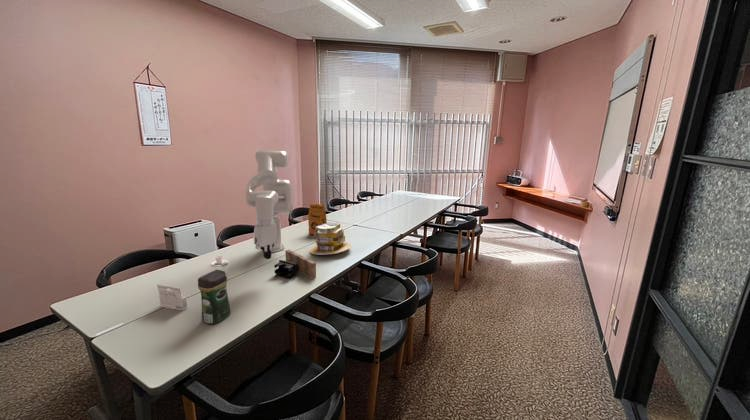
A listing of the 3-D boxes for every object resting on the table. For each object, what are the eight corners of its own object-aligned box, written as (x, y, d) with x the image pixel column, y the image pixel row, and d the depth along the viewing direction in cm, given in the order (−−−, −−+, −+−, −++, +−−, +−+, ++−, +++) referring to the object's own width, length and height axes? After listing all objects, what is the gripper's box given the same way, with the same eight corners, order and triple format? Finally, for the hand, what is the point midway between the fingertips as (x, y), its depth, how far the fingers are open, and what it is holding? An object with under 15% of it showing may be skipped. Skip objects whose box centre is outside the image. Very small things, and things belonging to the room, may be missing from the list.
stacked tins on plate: (301, 252, 185) (300, 225, 181) (327, 241, 206) (327, 216, 202) (334, 262, 173) (334, 233, 169) (358, 249, 194) (359, 223, 190)
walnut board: (285, 264, 168) (285, 250, 166) (289, 263, 170) (288, 249, 168) (312, 278, 153) (312, 263, 151) (316, 277, 154) (315, 262, 152)
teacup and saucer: (231, 264, 166) (230, 257, 165) (215, 268, 161) (214, 261, 160) (224, 259, 172) (223, 252, 171) (209, 263, 166) (208, 256, 166)
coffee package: (321, 237, 212) (321, 206, 207) (306, 234, 217) (305, 204, 212) (329, 233, 221) (329, 203, 215) (314, 231, 226) (314, 201, 220)
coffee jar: (218, 308, 125) (214, 266, 120) (234, 313, 122) (230, 270, 117) (197, 322, 116) (192, 276, 111) (213, 327, 113) (209, 280, 109)
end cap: (299, 274, 157) (298, 261, 156) (290, 279, 151) (289, 267, 149) (283, 270, 161) (283, 258, 160) (274, 275, 155) (273, 263, 153)
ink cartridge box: (165, 303, 127) (162, 282, 125) (188, 308, 125) (185, 285, 122) (159, 306, 125) (156, 284, 122) (183, 311, 122) (180, 288, 120)
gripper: (275, 216, 149) (277, 251, 154) (245, 222, 138) (248, 260, 143) (284, 220, 144) (285, 256, 149) (253, 227, 133) (256, 265, 139)
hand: (267, 257), depth 146 cm, fingers closed
